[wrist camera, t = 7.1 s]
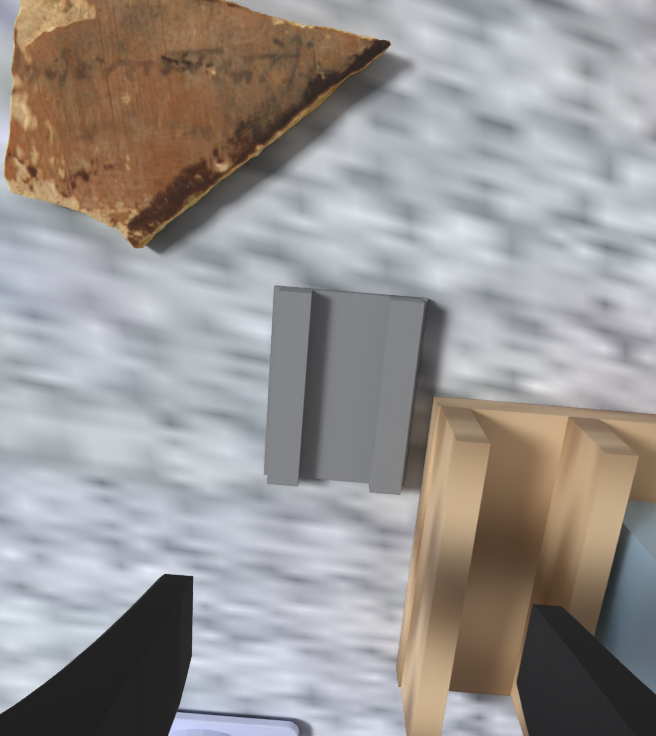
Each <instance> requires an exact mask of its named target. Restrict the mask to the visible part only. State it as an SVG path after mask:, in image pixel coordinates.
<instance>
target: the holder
mask: <svg viewBox="0 0 656 736" xmlns="http://www.w3.org/2000/svg"><path fill="white" fill-rule="evenodd" d="M427 302H428V299H427V298H419V297H407V296H395V295H382V294H370V293H358V292H346V291H334V290H322V289H310V288H298V287H286V286H274V299H273V318H272V336H271V354H270V373H269V391H268V410H267V428H266V446H265V465H264V475H268V477H267V484H274V485H286V486H298V480H299V478H311V479H323V480H335V481H348V482H360V483H369V490H370V492H371V493H384V494H396V495H400V492H401V486H404V480H405V473H406V465H407V457H408V449H409V441H410V434H411V426H412V418H413V410H414V403H415V395H416V387H417V379H418V372H419V364H420V356H421V348H422V340H423V333H424V325H425V317H426V309H427Z"/></svg>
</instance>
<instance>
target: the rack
mask: <svg viewBox="0 0 656 736" xmlns="http://www.w3.org/2000/svg"><path fill="white" fill-rule="evenodd" d="M628 500H630V501H643V502H653V503H654V504H655V505H656V414H644V413H632V412H620V411H608V410H596V409H584V408H572V407H560V406H547V405H535V404H523V403H511V402H499V401H487V400H475V399H463V398H450V397H438V396H434V397H433V404H432V412H431V419H430V426H429V433H428V440H427V448H426V455H425V462H424V469H423V477H422V484H421V491H420V498H419V506H418V513H417V520H416V527H415V535H414V542H413V549H412V556H411V564H410V571H409V578H408V585H407V593H406V600H405V607H404V614H403V622H402V629H401V636H400V643H399V651H398V658H397V665H396V671H397V679H398V687H401V693H402V701H403V709H404V717H405V726H406V734H407V736H441V732H442V726H443V720H444V714H445V708H446V703H447V697H448V691H457V692H469V693H481V694H494V695H506V696H511V699H512V702H513V705H514V708H515V711H516V714H517V717H518V720H519V723H520V726H521V729H522V732H523V735H524V736H529V734H528V731H527V727H526V723H525V719H524V715H523V711H522V706H521V702H520V697H519V693H518V688H517V684H516V681H517V676H518V671H519V667H520V662H521V657H522V652H523V648H524V643H525V638H526V633H527V629H528V624H529V619H530V614H531V610H532V605H533V604H540V605H552V606H562V607H563V608H564V609H565V610H566V611H567V612H569V613H570V614H571V615H572V616H573V617H574V618H575V619H576V620H577V621H578V622H579V623H580V624H581V625H582V626H583V627H584V628H585V629H587V630H588V631H589V632H590V633H591V634H592V635H593V636H594V635H595V631H596V627H597V623H598V619H599V615H600V611H601V607H602V603H603V599H604V595H605V591H606V587H607V583H608V578H609V574H610V570H611V566H612V562H613V558H614V554H615V550H616V546H617V542H618V538H619V534H620V530H621V526H622V522H623V518H624V514H625V510H626V506H627V502H628Z"/></svg>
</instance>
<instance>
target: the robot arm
mask: <svg viewBox="0 0 656 736" xmlns="http://www.w3.org/2000/svg"><path fill="white" fill-rule="evenodd" d="M192 615H193V576H184V575H172V574H164V575H163V576H161V577H160V578H159V579H158V580H157V581H156V582H155V583H154V584H153V585H152V586H151V587H150V588H149V589H148V590H147V591H146V592H145V593H144V594H143V595H142V597H141V598H140V599H139V600H138V601H137V602H136V603H135V604H134V605H133V606H132V607H131V608H130V609H129V610H128V611H127V612H126V613H125V614H124V615H123V616H122V617H120V618H119V619H118V620H117V621H116V622H115V623H114V624H113V625H112V626H111V627H110V628H109V629H108V630H107V631H106V632H105V633H103V634H102V635H101V636H100V637H99V638H98V639H97V640H96V641H95V642H94V643H93V644H91V645H90V646H89V647H88V648H87V649H86V650H84V651H83V652H82V653H81V654H80V655H79V656H77V657H76V658H75V659H74V660H73V661H72V662H70V663H69V664H68V665H67V666H66V667H64V668H63V669H62V670H61V671H60V672H58V673H57V674H56V675H54V676H53V677H52V678H51V679H49V680H48V681H47V682H46V683H44V684H43V685H42V686H40V687H39V688H38V689H36V690H35V691H33V692H32V693H31V694H29V695H28V696H27V697H25V698H24V699H22V700H21V701H20V702H18V703H17V704H15V705H14V706H12V707H11V708H9V709H8V710H6V711H5V712H3V713H1V714H0V736H299V728H298V726H297V725H296V724H295V723H293V722H290V721H280V720H268V719H256V718H243V717H231V716H218V715H206V714H194V713H181V712H177V710H178V707H179V705H180V701H181V697H182V693H183V689H184V686H185V682H186V678H187V673H188V669H189V665H190V661H191V657H192ZM516 684H517V688H518V693H519V697H520V702H521V706H522V711H523V715H524V719H525V723H526V727H527V731H528V734H529V736H656V694H655V693H654V692H653V691H652V690H651V689H649V688H648V687H647V686H646V685H645V684H644V683H643V682H642V681H640V680H639V679H638V678H637V677H636V676H635V675H634V674H633V673H632V672H631V671H630V670H629V669H627V668H626V667H625V666H624V665H623V664H622V663H621V662H620V661H619V660H618V659H617V658H616V657H615V656H614V655H613V654H612V653H610V652H609V651H608V650H607V649H606V648H605V647H604V646H603V645H602V644H601V643H600V642H599V641H598V640H597V639H596V638H595V637H594V636H593V635H592V634H591V633H590V632H589V631H588V630H587V629H585V628H584V627H583V626H582V625H581V624H580V623H579V622H578V621H577V620H576V619H575V618H574V617H573V616H572V615H571V614H570V613H569V612H567V611H566V610H565V609H564V608H563V607H562V606H552V605H540V604H533V605H532V610H531V614H530V619H529V624H528V629H527V633H526V638H525V643H524V648H523V652H522V657H521V662H520V667H519V671H518V676H517V681H516Z"/></svg>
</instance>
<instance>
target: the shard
mask: <svg viewBox="0 0 656 736" xmlns="http://www.w3.org/2000/svg"><path fill="white" fill-rule="evenodd" d="M13 40H14V49H13V61H12V73H11V74H12V78H13V87H12V91H11V106H10V131H9V140H8V144H7V148H6V154H5V162H4V177H5V179H6V181H7V184H8V188H9V190H10V191H11V192H13V193H15V194H18V195H22V196H25V197H28V198H31V199H37V200H44V201H47V202H49V203H53V204H57V205H60V206H62V207H67V208H71V209H73V210H76V211H79V212H82V213H85V214H87V215H88V216H90V217H92V218H94V219H96V220H98V221H100V222H102V223H104V224H106V225H107V226H109V227H112V228H114V229H116V230H118V231H119V232H120V233H121V234H122V235H123V236H124V237H125V238H126V239H127V241H128V242H129V243H130V244H131V245H132V246H133V247H134V248H143V247H144V246H145V245H146V244H147V243H148V242H149V241H150V240H151V239H152V238H153V237H154V236H155V235H156V233H158V232H159V231H161V230H162V229H164V228H165V226H166V225H167V224H168V223H169V222H171V221H172V220H173V219H174V218H176V217H177V216H179V215H180V214H182V213H183V212H184V211H185V210H187V209H188V208H189V207H191V206H193V205H195V204H196V203H197V202H198V201H199V200H200V199H201V198H202V197H203V196H205V195H206V194H207V193H208V192H209V191H210V190H211V189H212V188H213V187H214V186H215V185H216V184H217V183H219V182H220V181H221V180H222V179H224V178H226V177H228V176H229V175H230V174H232V173H233V172H234V171H235V170H237V169H238V168H239V167H241V166H242V165H243V164H245V163H246V162H247V161H248V160H250V159H251V158H253V157H256V156H259V154H260V153H261V151H262V150H263V149H264V148H265V147H266V146H268V145H270V144H271V143H273V142H274V141H275V140H277V139H278V138H279V137H281V136H282V135H283V134H284V133H285V132H287V131H288V130H289V129H290V128H292V127H293V126H294V125H296V124H297V123H298V122H299V120H301V119H302V118H304V117H305V116H307V115H308V114H309V113H311V112H312V111H313V110H315V109H316V108H318V106H319V105H320V104H321V103H323V102H324V101H325V100H326V99H327V98H328V97H329V95H331V94H332V93H333V92H334V91H336V89H337V88H338V86H339V85H340V84H341V83H342V82H343V81H344V80H345V79H347V78H348V77H349V76H351V75H353V74H354V73H357V72H360V71H362V70H364V69H365V68H366V67H367V66H368V65H369V64H370V63H372V62H373V61H374V60H376V59H377V58H378V57H380V56H381V55H382V54H383V53H384V52H385V51H386V50H387V49H388V47H389V46H390V45H391V44H390V41H386V40H378V39H375V38H372V37H369V36H360V35H356V34H353V33H350V32H346V31H342V30H338V29H335V28H332V27H321V26H311V25H302V24H299V23H297V22H294V21H288V20H284V19H281V18H276V17H273V16H268V15H266V14H261V13H259V12H255V11H252V10H250V9H248V8H247V7H244V6H241V5H238V4H236V3H233V2H230V1H225V0H21V1H20V6H19V13H18V15H17V18H16V21H15V26H14V34H13Z"/></svg>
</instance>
